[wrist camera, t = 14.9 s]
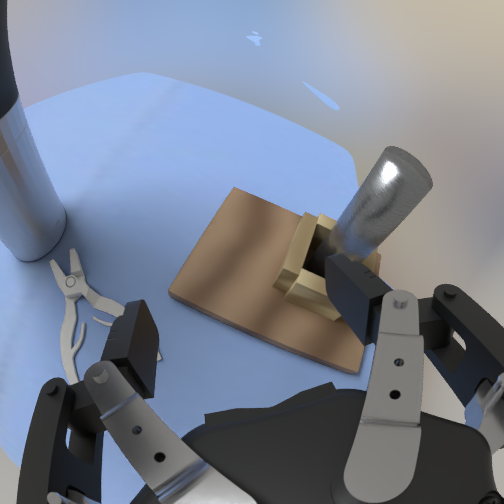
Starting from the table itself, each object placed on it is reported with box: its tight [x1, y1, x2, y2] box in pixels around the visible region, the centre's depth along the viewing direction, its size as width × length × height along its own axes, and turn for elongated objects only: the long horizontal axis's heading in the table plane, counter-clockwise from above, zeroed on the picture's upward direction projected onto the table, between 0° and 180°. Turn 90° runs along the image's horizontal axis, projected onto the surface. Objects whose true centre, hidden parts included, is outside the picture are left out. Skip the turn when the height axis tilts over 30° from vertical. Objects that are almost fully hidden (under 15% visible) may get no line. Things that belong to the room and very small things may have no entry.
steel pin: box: [304, 146, 433, 279], centre depth 22 cm, size 4×4×16 cm
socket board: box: [168, 187, 381, 374], centre depth 27 cm, size 20×15×6 cm
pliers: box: [50, 248, 162, 385], centre depth 23 cm, size 10×2×15 cm
